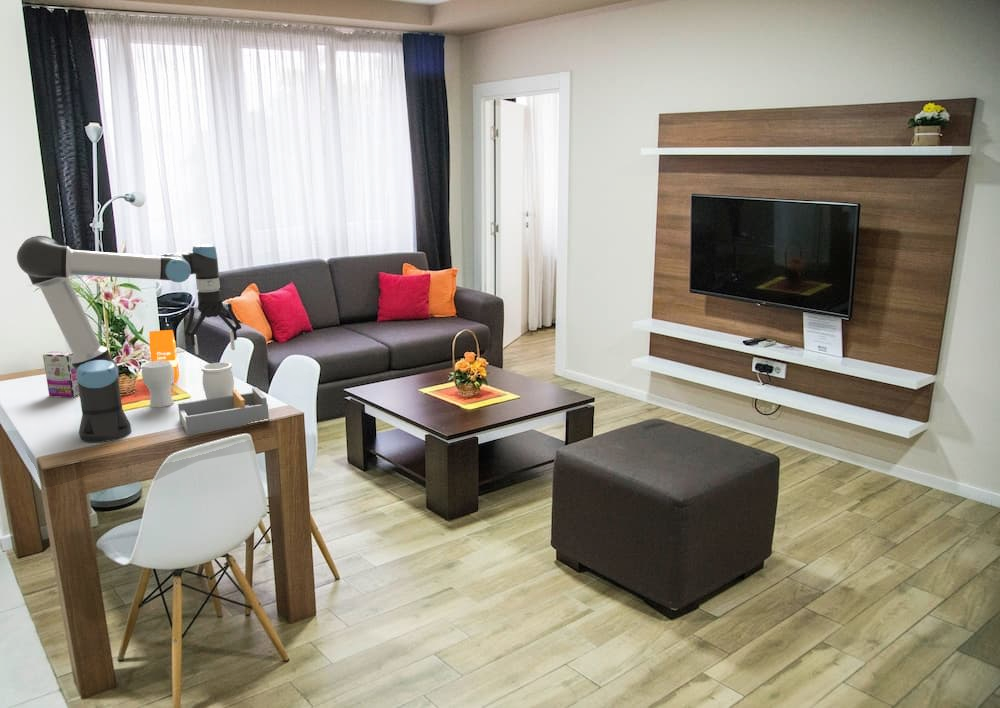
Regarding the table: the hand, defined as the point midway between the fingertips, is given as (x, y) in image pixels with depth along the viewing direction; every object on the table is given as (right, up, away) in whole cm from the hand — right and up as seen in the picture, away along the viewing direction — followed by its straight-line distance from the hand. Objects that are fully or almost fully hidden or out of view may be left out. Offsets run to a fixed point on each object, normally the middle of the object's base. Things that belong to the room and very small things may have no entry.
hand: (215, 351), depth 285 cm
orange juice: (-33, -11, +40) cm, 54 cm away
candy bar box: (-63, -17, +21) cm, 69 cm away
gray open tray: (+7, -23, -10) cm, 26 cm away
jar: (0, -20, +5) cm, 20 cm away
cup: (-22, -19, +9) cm, 31 cm away
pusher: (+13, -21, -7) cm, 26 cm away
